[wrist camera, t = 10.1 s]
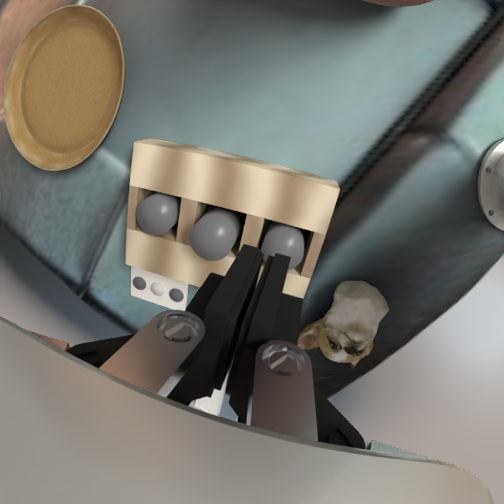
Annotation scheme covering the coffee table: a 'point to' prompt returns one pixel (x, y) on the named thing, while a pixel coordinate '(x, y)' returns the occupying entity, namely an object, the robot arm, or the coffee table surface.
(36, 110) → the plant saucer
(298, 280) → the button board
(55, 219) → the coffee table surface
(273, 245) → the button
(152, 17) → the coffee table surface
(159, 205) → the button
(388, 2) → the ceramic pitcher
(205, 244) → the middle button
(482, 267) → the coffee table surface
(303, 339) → the ceramic sculpture
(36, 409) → the robot arm
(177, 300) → the pattern card
